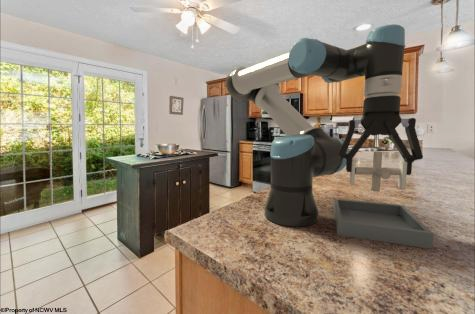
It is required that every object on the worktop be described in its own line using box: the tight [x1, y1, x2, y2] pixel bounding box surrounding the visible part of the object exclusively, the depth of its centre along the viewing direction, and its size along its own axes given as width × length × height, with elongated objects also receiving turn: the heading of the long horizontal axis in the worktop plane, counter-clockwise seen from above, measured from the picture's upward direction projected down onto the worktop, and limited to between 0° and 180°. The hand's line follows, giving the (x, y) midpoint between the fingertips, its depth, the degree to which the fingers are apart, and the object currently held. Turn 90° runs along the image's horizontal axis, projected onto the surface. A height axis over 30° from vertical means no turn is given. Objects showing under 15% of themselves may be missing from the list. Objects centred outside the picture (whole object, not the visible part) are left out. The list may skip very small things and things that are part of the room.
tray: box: [333, 198, 434, 250], centre depth 56 cm, size 18×18×3 cm
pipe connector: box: [355, 150, 401, 193], centre depth 55 cm, size 10×10×10 cm
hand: (375, 185), depth 55 cm, fingers closed on pipe connector, 10 cm apart
